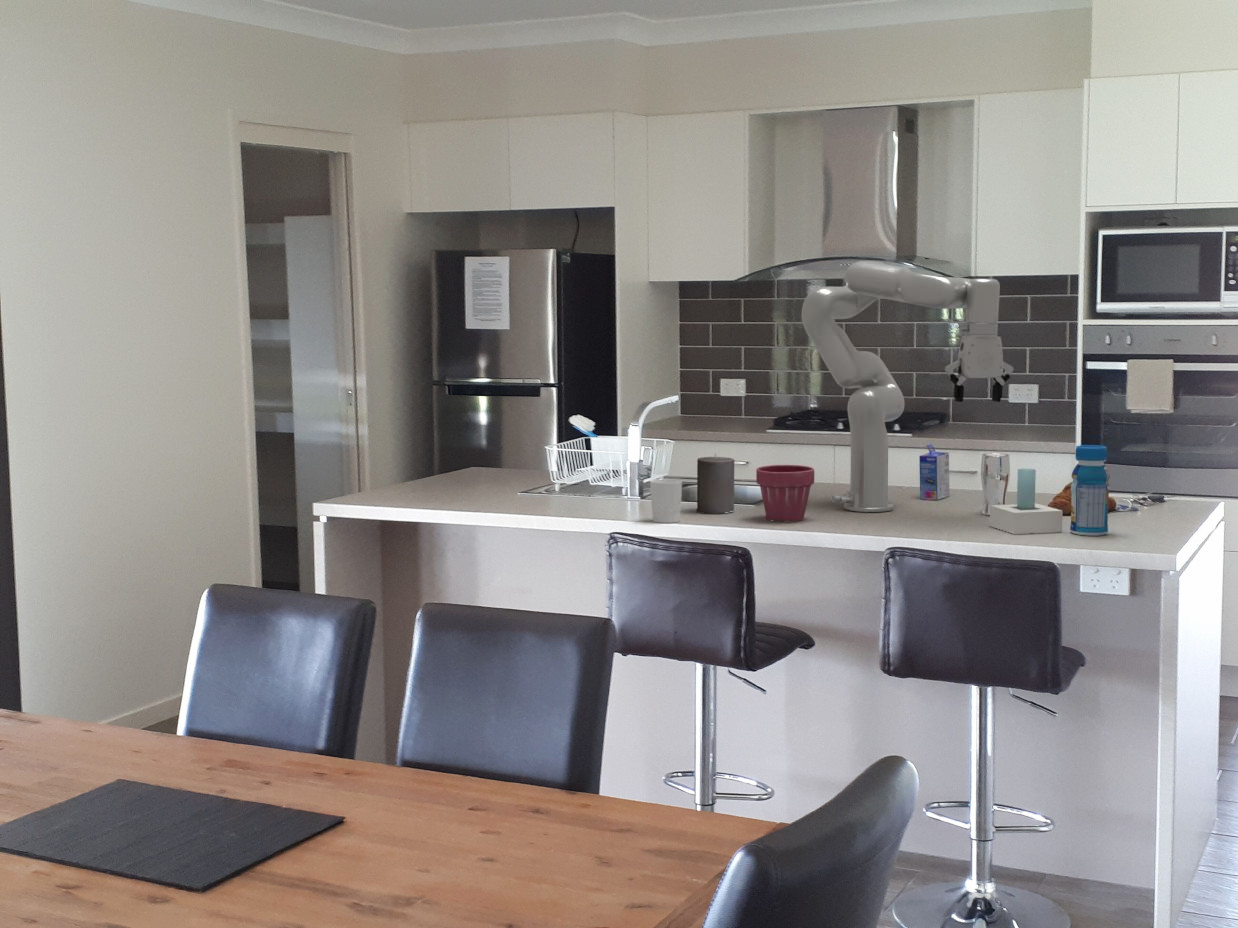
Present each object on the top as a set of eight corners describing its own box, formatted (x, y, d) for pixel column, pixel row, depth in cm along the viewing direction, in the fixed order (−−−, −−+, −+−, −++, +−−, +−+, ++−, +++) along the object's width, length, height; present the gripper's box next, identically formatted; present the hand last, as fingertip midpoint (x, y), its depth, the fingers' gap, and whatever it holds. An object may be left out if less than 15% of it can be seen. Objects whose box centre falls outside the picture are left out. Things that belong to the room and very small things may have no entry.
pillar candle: (689, 511, 344) (689, 454, 342) (712, 507, 351) (713, 450, 349) (718, 515, 338) (718, 457, 336) (742, 511, 345) (742, 453, 343)
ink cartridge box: (930, 494, 370) (931, 443, 369) (950, 496, 367) (950, 443, 366) (918, 499, 362) (918, 446, 360) (937, 500, 359) (938, 447, 357)
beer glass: (1010, 516, 331) (1011, 456, 329) (981, 515, 332) (982, 456, 330) (1007, 512, 338) (1009, 453, 336) (979, 511, 339) (980, 453, 337)
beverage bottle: (1087, 537, 300) (1090, 449, 297) (1061, 532, 307) (1063, 445, 305) (1116, 534, 303) (1119, 447, 301) (1089, 529, 311) (1092, 443, 308)
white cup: (648, 519, 333) (648, 479, 332) (680, 518, 334) (680, 478, 333) (652, 524, 325) (652, 483, 324) (684, 523, 326) (684, 482, 325)
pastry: (1054, 506, 348) (1055, 476, 347) (1117, 509, 341) (1118, 478, 340) (1045, 516, 333) (1046, 484, 332) (1111, 519, 326) (1112, 486, 325)
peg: (1021, 530, 309) (1023, 471, 308) (1013, 528, 313) (1014, 469, 312) (1037, 530, 310) (1039, 470, 308) (1028, 527, 314) (1030, 468, 312)
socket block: (1013, 534, 305) (1014, 512, 304) (989, 526, 316) (989, 505, 316) (1062, 532, 307) (1062, 510, 306) (1035, 524, 319) (1036, 503, 318)
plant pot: (780, 525, 321) (780, 472, 319) (744, 518, 333) (744, 467, 331) (826, 520, 328) (826, 468, 327) (789, 513, 340) (789, 463, 339)
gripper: (954, 330, 315) (950, 403, 317) (1022, 331, 318) (1018, 402, 321) (941, 329, 322) (937, 400, 325) (1007, 330, 326) (1003, 400, 328)
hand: (977, 401), depth 323 cm, fingers open, 9 cm apart
